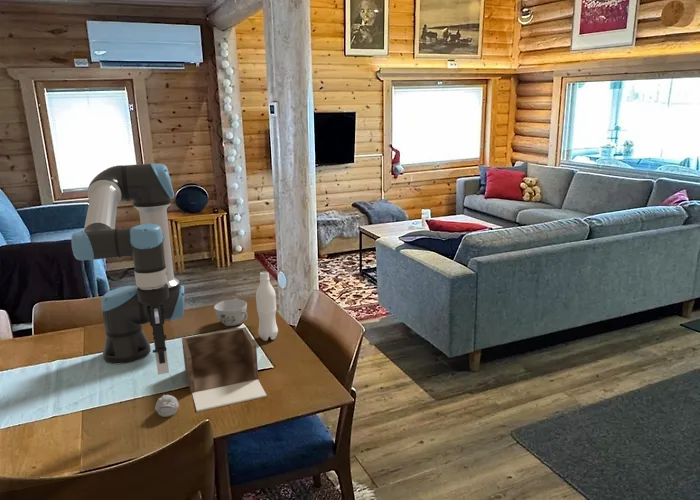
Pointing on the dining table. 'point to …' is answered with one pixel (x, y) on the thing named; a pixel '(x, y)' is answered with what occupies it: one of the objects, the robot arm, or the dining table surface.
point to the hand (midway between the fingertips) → (162, 367)
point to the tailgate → (228, 395)
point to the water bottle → (266, 308)
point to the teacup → (231, 311)
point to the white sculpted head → (166, 405)
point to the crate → (219, 359)
